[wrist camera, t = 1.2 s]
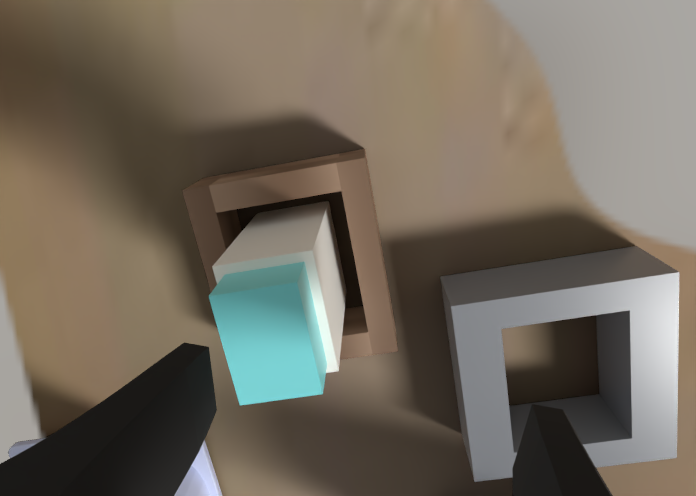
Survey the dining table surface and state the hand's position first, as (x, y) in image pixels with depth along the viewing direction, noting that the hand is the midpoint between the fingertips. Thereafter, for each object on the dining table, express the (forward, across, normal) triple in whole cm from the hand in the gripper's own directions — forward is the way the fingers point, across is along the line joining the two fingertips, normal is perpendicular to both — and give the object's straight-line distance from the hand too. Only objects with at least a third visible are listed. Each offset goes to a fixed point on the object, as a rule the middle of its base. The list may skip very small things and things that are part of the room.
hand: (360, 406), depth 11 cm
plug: (+10, +4, +2) cm, 11 cm away
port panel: (+11, -6, +6) cm, 14 cm away
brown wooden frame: (+10, +4, +2) cm, 11 cm away
